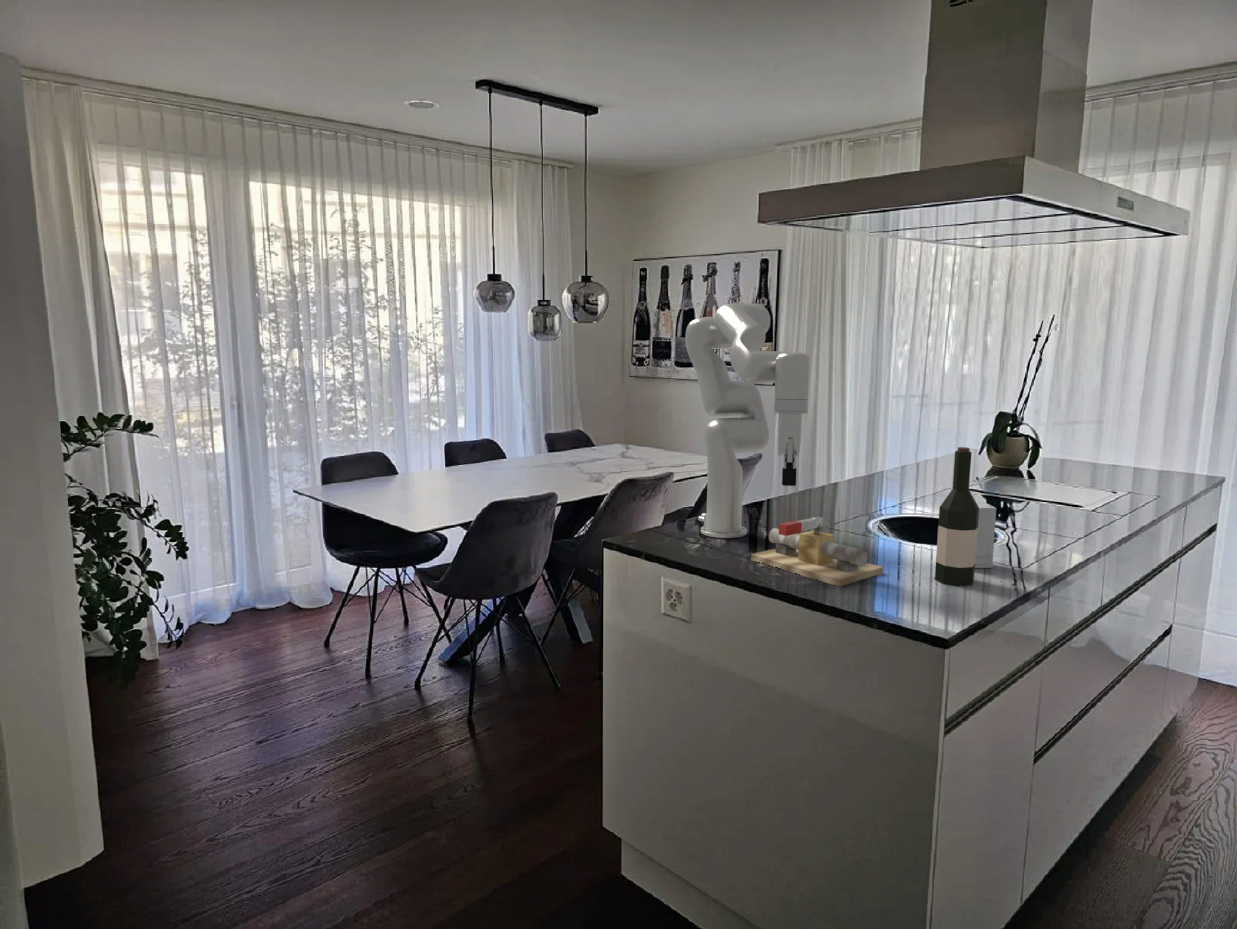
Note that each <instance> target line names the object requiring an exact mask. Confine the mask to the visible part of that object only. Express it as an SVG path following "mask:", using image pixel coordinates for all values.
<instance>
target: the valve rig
mask: <svg viewBox="0 0 1237 929" xmlns="http://www.w3.org/2000/svg"><path fill="white" fill-rule="evenodd" d="M834 537H835V534H832V533H828V532H824V531H821V528H814V529H812V530H808V531H804V532H801V533H797V534H793V535H789V536H784V535H780V534H779V528H777V527H773V528H772V529H771V530H770V531H769V533H768V539H769V542H770V543H773V544H775V548H772V549H768V550H767V549H766V550H763V551H759V552H756V553H751V555H750V556H751V557H750V561H752V562H755V561H756V562H755V563H758V562H760V563H759V564H762V563H764V564H763V565H765V564H767V565H766V566H768V565H770V566H769V567H772V566H773V568H775V567H778V568H781V569H780V570H782V569H783V571H785V570H786V572H789V573H792V574H795V573H797V574H796V575H799V574H800V575H799V576H802V577H806V578H809V579H812V580H816V579H817V580H816V581H820V582H822V583H826V584H828V585H832V586H837V587H843V586H846V585H849V584H852V583H853V584H854V583H856V581H857V582H859V580H860V581H863V580H866V579H869V578H872V577H876V576H879V575H882V574H884V566H880V565H876V564H873V563H868V558H869V557H868V556H869V555H868V551H867V550H864V549H860V548H856V547H852V546H848V545H844V544H840V543H836V542H834V540H835V538H834ZM778 568H777V569H778ZM862 579H863V580H862Z"/></svg>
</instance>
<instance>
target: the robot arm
mask: <svg viewBox="0 0 1237 929" xmlns="http://www.w3.org/2000/svg"><path fill="white" fill-rule="evenodd" d="M770 326H771V315H770V313H769V311H768V309H767V308H766V307H765V306H764V305H762V304H760V303H746V302H745V303H740V302H739V303H737V302H734V303H733V302H732V303H727V304H724V305H721V306H720V307H718V309H717V310H716V312H715V313H714V316H704V317H698V318H695V319H692V320H691V321H690V322H689V323H688V325H687V327H686V330H685V347H686V351H687V355H688V357H689V359H690V362H691V364H692V366H693V368H694V370H695V373H696V374H695V375H696V377H697V382H698V386H699V391H700V396H701V399H702V404H703V409H704V410H705V412H706V413H707V414H708V415H709V416H711V417H712V416H713V417H721V418H716V419H713V420H711V421H710V422H708V423H707V425H706V426H705V429H704V442H705V448H706V456H707V457H706V458H707V459H706V461H707V474H706V475H707V484H706V485H707V487H706V488H707V491H706V512H703V513H701V515H699V516H698V521H701V522H703V526H701V527H700V533H701V534H703V535H704V536H707V537H710V538H711V537H712V538H717V539H718V538H719V539H736V538H742V537H744V536H746V535H747V533H748V529H747V528H746V527H745V526H742V514H743V511H742V510H743V481H744V480H743V478H744V477H743V476H744V475H743V474H744V470H743V466H742V465H741V463H740V461H739V460H738V458H737V457H736V454H741V453H757V452H762V451H763V450H765V449H766V448H767V447H768V444H769V442H770V434H769V432H770V431H769V426H768V422H767V417H766V413H765V409H764V408H765V407H764V403H763V401H762V400H763V399H762V396H761V394H760V390H759V389H758V387H757V386H756V385H755V384H775V385H774V412H773V413H774V414H778V421H777V454H776V455H777V456H778V457H781V455H783V467H782V470H781V471H782V472H781V485H782V486H784V487H787V486H788V487H795V486H797V466H796V464H797V463H796V461H797V460H796V459H797V457H798V456H800V450H801V441H802V433H803V432H802V431H803V430H802V428H803V415H806V414H808V410H809V384H810V382H809V381H810V380H809V379H810V378H809V377H810V357H809V355H808V354H807V353H806V352H805V353H804V352H792V351H786V350H785V351H780V350H779V351H776V350H775V351H773V350H771V351H770V350H768V351H765V350H761V349H762V347H764V344H765V341H766V333H767V332H768V331H769V329H770ZM714 349H730V350H729V359H730V360H729V361H730V364H731V368H732V369H733V371H734V373H736V374H737V376H739V377H740V378H741V380H736V381H735V380H734V381H733V379H731V378H730V376H729V371H728V367H727V364H726V363H725V361H724V360H723V358H722V357H721V356H720V355H719V354H718V353H717V352H715V350H714ZM760 350H761V351H760Z"/></svg>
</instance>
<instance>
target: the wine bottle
mask: <svg viewBox="0 0 1237 929" xmlns="http://www.w3.org/2000/svg"><path fill="white" fill-rule="evenodd" d="M972 453H973V452H972V451H970V447H966V446H960V447H959V446H958V447H957V450H956V451H954V463H953V464H954V465H953V478H952V489H951V491H950V492H949V493H948V495H947V496H946V498H945V499H944V500H943V502H941V505H940V506H939V512H938V527H937V538H936V539H937V540H936V541H937V543H936V552H935V553H936V556H935V557H936V558H935V570H934V580H935V581H936V580H937V581H936V582H939V583H941V584H943V585H947V586H956V587H967V586H972V585H973V584H974V582H975V572H976V571H975V569H976V568H975V559H976V546H977V533H978V520H979V507H978V505H977V503H978V502H977V501H976V500H975V498H974V497H973V496H974V495H972V492H971V491H970V480H971V478H970V477H971V468H972V467H971V465H972Z"/></svg>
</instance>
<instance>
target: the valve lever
mask: <svg viewBox="0 0 1237 929" xmlns="http://www.w3.org/2000/svg"><path fill="white" fill-rule="evenodd" d="M823 527H824V517H821V516H812V517H811V518H805V519H801V520H790V521H785V522H782V523H778V529H779V534H780V535H784V536H789V535H793V534H800V533H802V532H806V531H811V530H814V528H820V529H821V528H823Z"/></svg>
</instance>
